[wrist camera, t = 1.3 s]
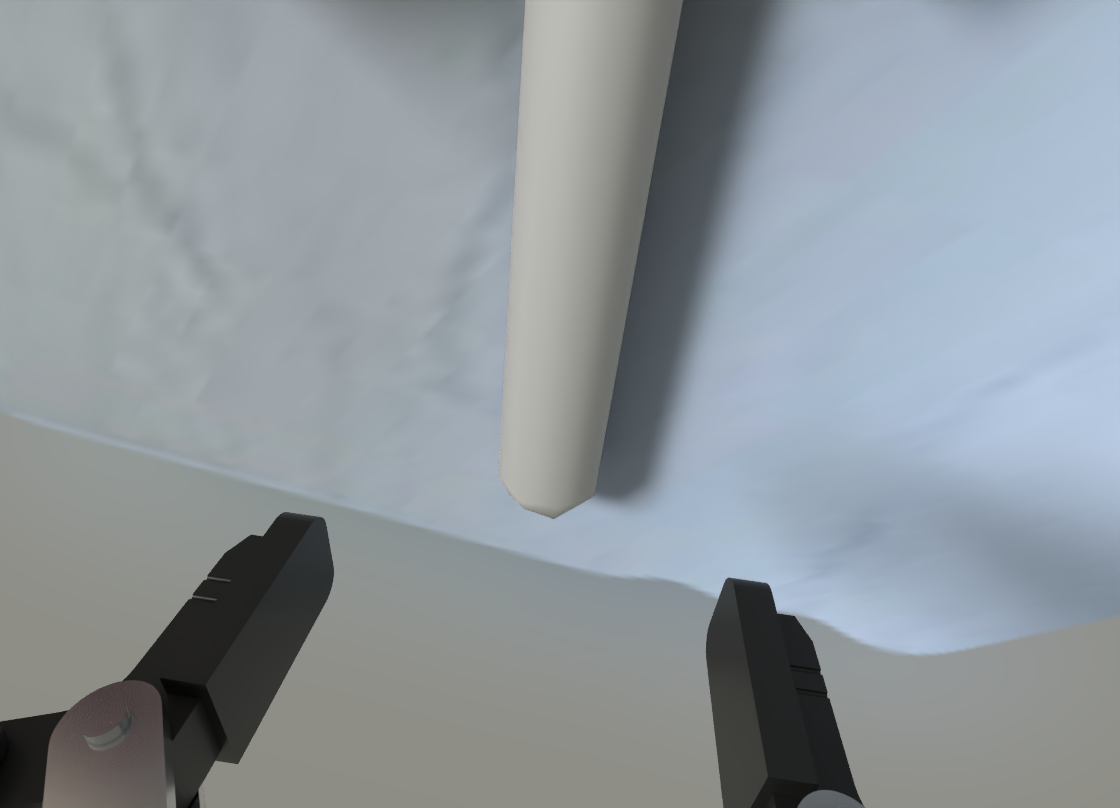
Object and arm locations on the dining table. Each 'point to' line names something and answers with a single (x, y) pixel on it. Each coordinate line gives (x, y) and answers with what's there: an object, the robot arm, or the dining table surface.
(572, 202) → the tube
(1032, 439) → the dining table surface
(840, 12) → the dining table surface
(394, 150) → the dining table surface
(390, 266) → the dining table surface
